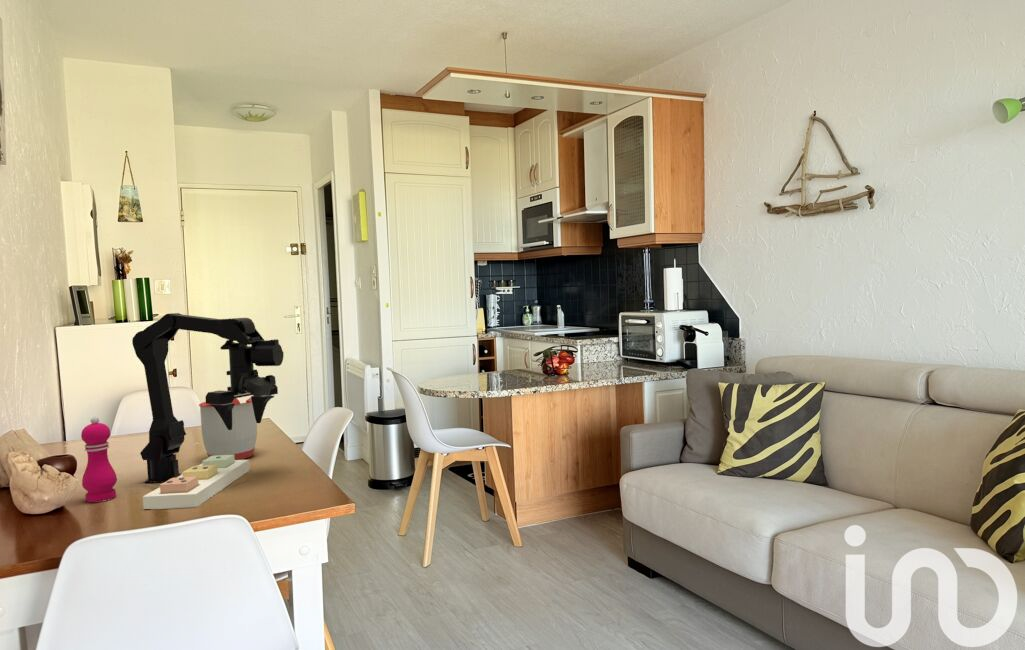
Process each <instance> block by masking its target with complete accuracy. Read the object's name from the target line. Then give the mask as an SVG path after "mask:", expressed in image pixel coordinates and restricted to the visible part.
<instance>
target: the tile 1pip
mask: <svg viewBox="0 0 1025 650" xmlns="http://www.w3.org/2000/svg"><path fill="white" fill-rule="evenodd" d="M234 463H235V458H234V455H216V456H211V457H209V456H208V457H207V458H205V459H203V460H201V464H202V466H204V465H217V468H227V467H229V466H230V465H232V464H234Z"/></svg>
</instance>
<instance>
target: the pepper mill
mask: <svg viewBox="0 0 1025 650" xmlns="http://www.w3.org/2000/svg"><path fill="white" fill-rule="evenodd" d="M110 437H111V430H110V428H109V426H108V425H107V424H105V423H102V422H100V419H99V417H97V416H93V417H92V418H91V419H90V424H88V425H86V426H85V427H84V428H83V429H82V431H81V437H80V438H81V440H82V441H83V443H85V444H84V448H85V449H84V451H85V452H86V453H87V462H86V463H87V464H86V467H85V470H84V473H83V475H82V479H81V485H82V488H83V489H84V490H85V491H86V492H85V494H84V495H85V502H86V501H87V503H89V502H96V503H98V502H97V501H103V500H107V501H109V500H108V499H111V498H113V499H115V498H116V497H115V496H117V495H116V491H117V490H116V488H114V486H115V485H116V483H117V481H118V477H117V473H116V472H115V469H114V467H113V466H112V464H111V463H110V460H109V456H108V449H109V448H110V445H109V444H110V442H108V440H109V439H110ZM114 497H115V498H114ZM111 500H112V499H111ZM103 502H104V501H103Z"/></svg>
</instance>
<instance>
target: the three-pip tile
mask: <svg viewBox="0 0 1025 650" xmlns="http://www.w3.org/2000/svg"><path fill="white" fill-rule="evenodd" d="M197 486H199V485H198V476H197V477H179V476H178V478H177V477H176V478H171V479H169V480H168V481H166V482H162V483H161V484H159V487H160V493H161V494H170V493H188V492H189V491H191V490H193V489H194V488H196V487H197Z"/></svg>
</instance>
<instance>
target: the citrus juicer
mask: <svg viewBox="0 0 1025 650" xmlns="http://www.w3.org/2000/svg"><path fill="white" fill-rule="evenodd" d="M232 403H234V404H235V405H234V407H233V409H232V430H228V429H227V427H226V425H225V424H224V422H223V420H222V418H221V417H220V415H219V414H218V412H217V411H216V409H215V408H214V407H213V406H210V404H206V401H203V402H201V403H199V404H198V406H199V410H200V423H201V435H202V437H201V438H202V442H203V446H204V449H205V450H206V455H207V456H208V458H209V457H211V456H216V455H234V458H235V460H246V459H247V458H248V459H249V457H250V458H251V457H252V456H253V455H254V451H255V449H256V444H257V442H256V441H257V435H258V423H256V419H255V415H254V410H253V405H252V400H251V397H249V398H247V399H246V400H245V402H243V403H241V401H240V400H239V399H238V398H234V400H233V402H232Z"/></svg>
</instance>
